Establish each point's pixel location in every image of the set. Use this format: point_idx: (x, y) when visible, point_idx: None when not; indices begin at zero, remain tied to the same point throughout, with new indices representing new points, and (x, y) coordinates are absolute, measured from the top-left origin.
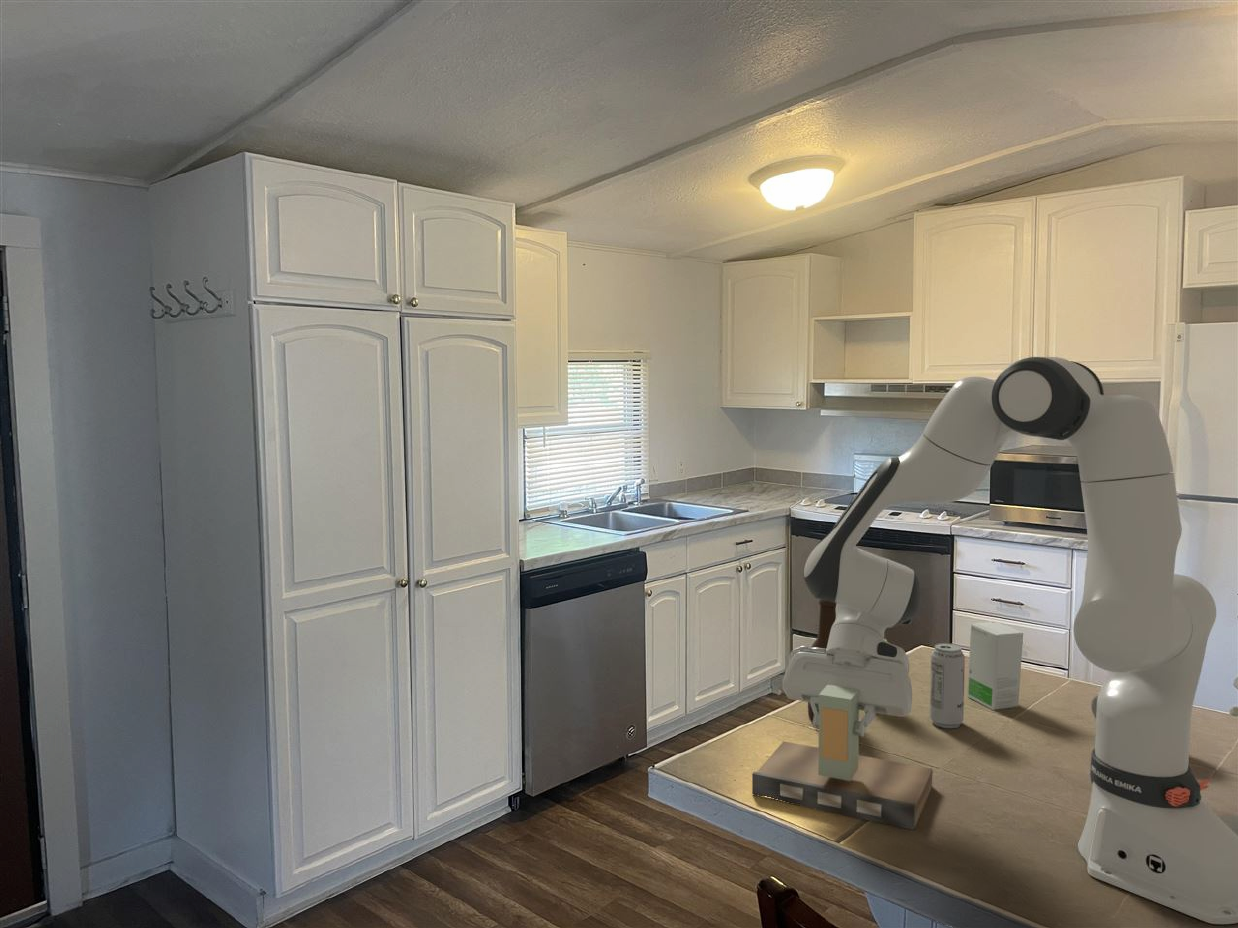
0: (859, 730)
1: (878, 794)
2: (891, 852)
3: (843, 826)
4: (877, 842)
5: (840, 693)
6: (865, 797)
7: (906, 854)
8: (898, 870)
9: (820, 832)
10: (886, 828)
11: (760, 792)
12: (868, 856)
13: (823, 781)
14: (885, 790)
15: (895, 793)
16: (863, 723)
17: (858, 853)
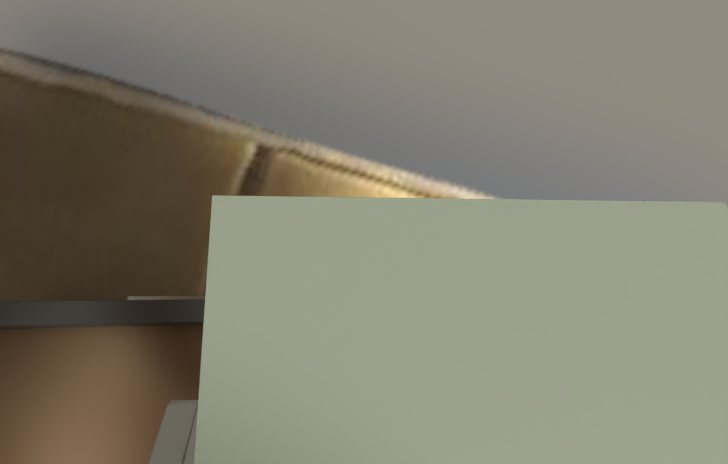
0: (195, 400)
1: (149, 386)
2: (96, 152)
3: None
4: (145, 190)
5: (470, 412)
6: (193, 301)
7: (48, 159)
8: (69, 74)
9: (323, 177)
10: (126, 291)
11: None
12: (161, 108)
13: None
14: (122, 446)
15: (71, 435)
16: (152, 461)
17: (191, 112)
